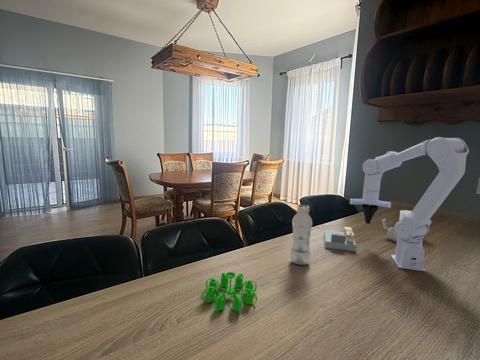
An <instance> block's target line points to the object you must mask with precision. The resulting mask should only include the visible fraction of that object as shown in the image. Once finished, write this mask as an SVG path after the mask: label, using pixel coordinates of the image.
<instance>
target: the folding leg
mask: <svg viewBox="0 0 480 360" xmlns="http://www.w3.org/2000/svg"><path fill="white" fill-rule="evenodd" d="M343 229H344V230H343V232H344V235H345V236H346V238H345V239H346V242H352V243H353V242H354V241H355V235H354V232H353V229H352V227H350V226H348V227H347V226H344V228H343Z"/></svg>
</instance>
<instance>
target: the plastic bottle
mask: <svg viewBox="0 0 480 360" xmlns="http://www.w3.org/2000/svg"><path fill="white" fill-rule="evenodd" d="M296 212H297V213H296V214H295V215H294V216H293V218H292V220H291V222H292V223H291V224H292V244H291V249H290V253H289V255H290V260H291V261H292V263H293V264H296V265H299V266H306V265H307V264H309V262H310V261H311V251H310V250H311V249H310V239H311V231H312V228H313V219H312V217H311V216H310V214H309V213H310V205H307V204H298V205H297V210H296Z"/></svg>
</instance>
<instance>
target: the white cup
mask: <svg viewBox="0 0 480 360" xmlns="http://www.w3.org/2000/svg"><path fill="white" fill-rule="evenodd" d="M412 211H413V210H407V209H403V210H400V211H399V219H398V220H399V221H401V220H402V219H403V218H404V216H406V215H407V214H409V213H410V212H412Z"/></svg>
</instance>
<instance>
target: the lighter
mask: <svg viewBox="0 0 480 360" xmlns="http://www.w3.org/2000/svg"><path fill="white" fill-rule="evenodd" d="M381 223H382V227H383V228H384V230H386V235H385V236H386V237H385V238H386V239H387V238H388V240H390V239H391V240H390V241H392V240H393V241H392V242H395V241H396V242H397V239H398V238H397V235H396V233H395V230H394V227H392V226H391V227H390V226H389V223H388V220H387V218H384V219H381Z"/></svg>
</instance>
